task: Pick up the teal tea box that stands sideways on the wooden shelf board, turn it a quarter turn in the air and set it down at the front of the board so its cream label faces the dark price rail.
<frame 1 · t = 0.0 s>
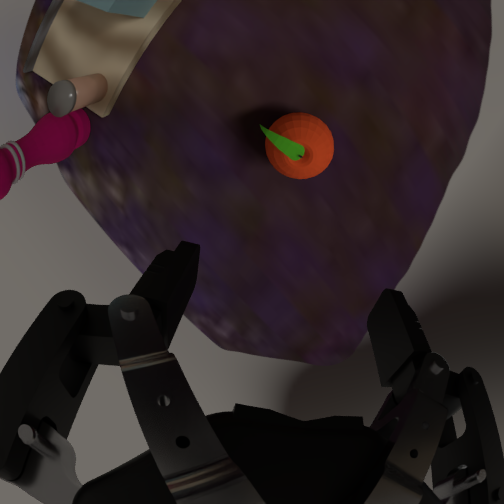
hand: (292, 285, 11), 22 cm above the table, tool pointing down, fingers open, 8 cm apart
clementine: (294, 134, 28), on the table
pepper mill: (76, 126, 29), on the table
spice jar: (95, 87, 24), point 2 cm above the table, touching shelf board
shelf board: (98, 25, 20), on the table
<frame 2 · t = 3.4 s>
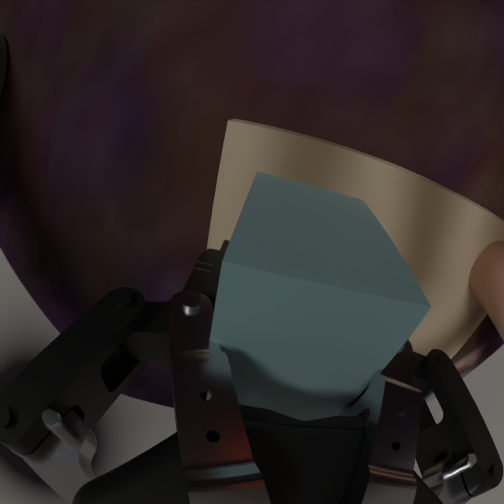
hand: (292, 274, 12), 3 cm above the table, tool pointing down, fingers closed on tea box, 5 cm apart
tea box: (290, 255, 13), point 2 cm above the table, touching gripper, shelf board
spice jar: (491, 268, 12), point 2 cm above the table, touching shelf board
shelf board: (363, 308, 16), on the table
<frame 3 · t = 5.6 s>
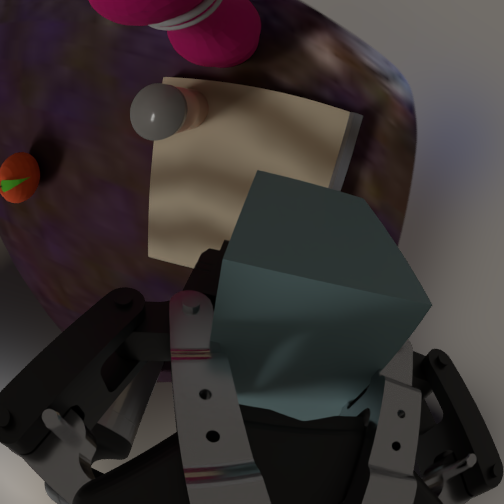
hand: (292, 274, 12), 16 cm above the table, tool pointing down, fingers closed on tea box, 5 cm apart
clementine: (37, 168, 28), on the table
pepper mill: (226, 39, 19), on the table
tea box: (290, 254, 13), point 15 cm above the table, touching gripper
spice jar: (187, 109, 22), point 2 cm above the table, touching shelf board
shelf board: (239, 186, 27), on the table
when the fingers open (5 cm above the table, at t = 7.7 s): tea box drops 2 cm, resting on shelf board.
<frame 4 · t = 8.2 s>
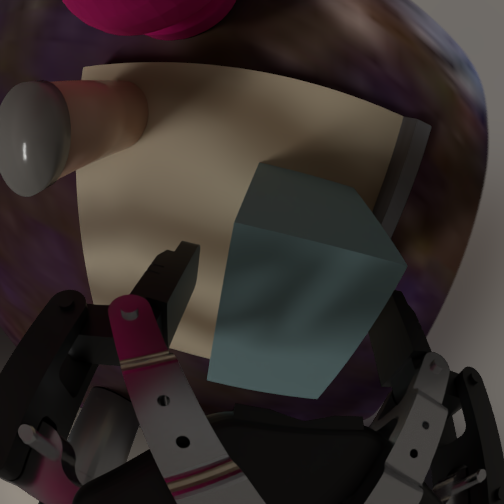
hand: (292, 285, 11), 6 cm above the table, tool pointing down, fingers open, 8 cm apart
tea box: (289, 238, 14), point 2 cm above the table, touching shelf board
spice jar: (116, 115, 12), point 2 cm above the table, touching shelf board
shelf board: (210, 238, 17), on the table
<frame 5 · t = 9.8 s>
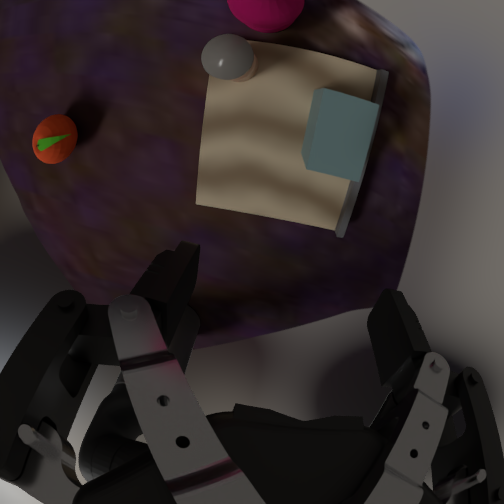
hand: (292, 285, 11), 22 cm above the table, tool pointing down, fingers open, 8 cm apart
clementine: (73, 132, 30), on the table
pepper mill: (268, 10, 20), on the table
tea box: (329, 126, 26), point 2 cm above the table, touching shelf board
spice jar: (239, 64, 23), point 2 cm above the table, touching shelf board
shelf board: (285, 133, 28), on the table
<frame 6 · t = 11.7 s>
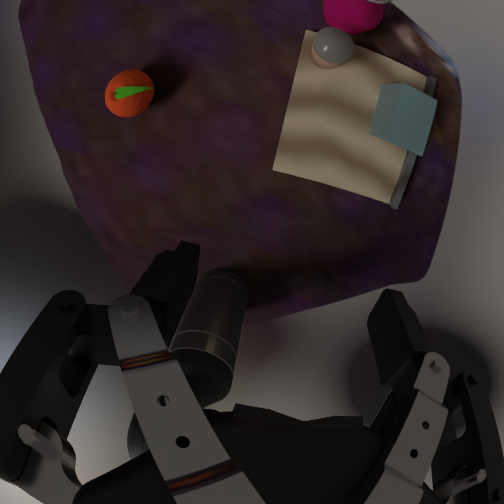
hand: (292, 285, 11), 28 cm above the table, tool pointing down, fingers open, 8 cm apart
clementine: (145, 92, 32), on the table
pepper mill: (345, 16, 23), on the table
tea box: (391, 115, 29), point 2 cm above the table, touching shelf board
spice jar: (324, 55, 26), point 2 cm above the table, touching shelf board
shelf board: (354, 117, 31), on the table
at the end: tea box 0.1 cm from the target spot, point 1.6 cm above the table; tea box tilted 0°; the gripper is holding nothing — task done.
